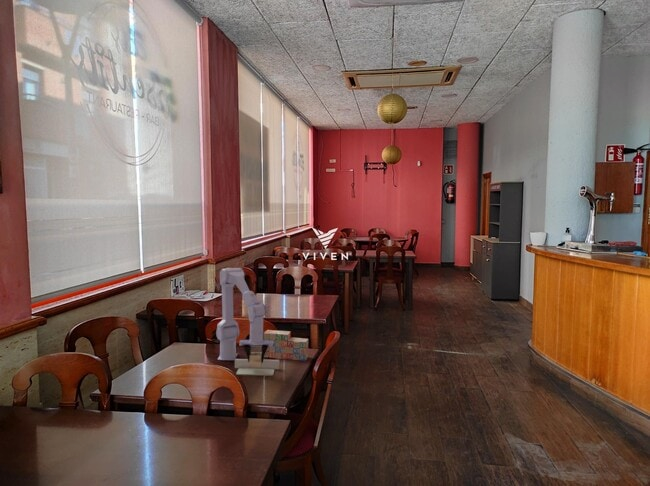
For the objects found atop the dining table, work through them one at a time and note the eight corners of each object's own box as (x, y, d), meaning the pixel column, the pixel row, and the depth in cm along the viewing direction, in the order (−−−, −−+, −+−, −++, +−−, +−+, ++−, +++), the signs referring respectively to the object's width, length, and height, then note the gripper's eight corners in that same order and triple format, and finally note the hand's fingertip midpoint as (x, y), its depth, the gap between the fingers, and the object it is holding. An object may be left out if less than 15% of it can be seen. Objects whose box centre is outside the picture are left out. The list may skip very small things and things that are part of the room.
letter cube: (251, 363, 198) (251, 351, 198) (262, 363, 198) (262, 352, 198) (249, 366, 193) (249, 355, 193) (260, 367, 193) (261, 355, 193)
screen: (235, 367, 201) (235, 358, 200) (279, 368, 201) (279, 359, 201) (234, 368, 200) (234, 359, 199) (279, 369, 200) (279, 360, 200)
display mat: (238, 369, 199) (238, 368, 199) (274, 369, 199) (274, 368, 199) (236, 374, 192) (236, 373, 192) (273, 375, 192) (273, 374, 192)
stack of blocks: (308, 357, 219) (308, 332, 218) (305, 361, 212) (306, 336, 212) (266, 353, 222) (267, 329, 222) (262, 357, 216) (263, 332, 215)
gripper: (238, 333, 190) (237, 364, 191) (272, 334, 190) (271, 365, 191) (241, 329, 197) (240, 359, 198) (273, 329, 197) (273, 359, 198)
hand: (255, 361), depth 195 cm, fingers closed on letter cube, 5 cm apart
